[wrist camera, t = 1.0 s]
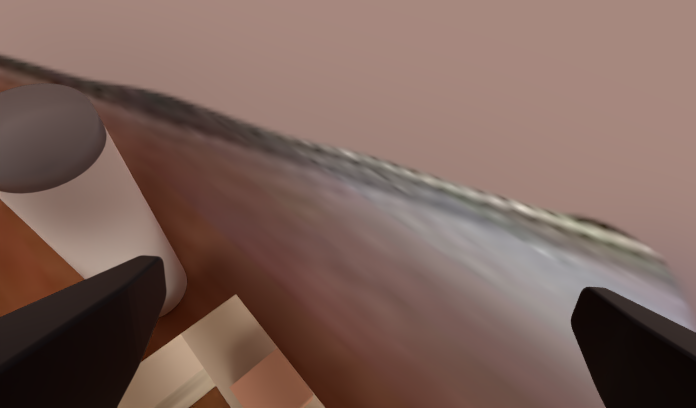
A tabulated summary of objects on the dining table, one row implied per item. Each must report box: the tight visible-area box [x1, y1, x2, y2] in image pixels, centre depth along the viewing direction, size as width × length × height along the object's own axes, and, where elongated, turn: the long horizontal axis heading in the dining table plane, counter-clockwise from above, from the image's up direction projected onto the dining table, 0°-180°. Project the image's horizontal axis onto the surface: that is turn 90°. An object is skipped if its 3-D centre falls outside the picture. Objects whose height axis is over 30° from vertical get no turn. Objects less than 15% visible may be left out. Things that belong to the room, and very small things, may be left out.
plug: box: [0, 84, 187, 318], centre depth 19 cm, size 4×4×13 cm
